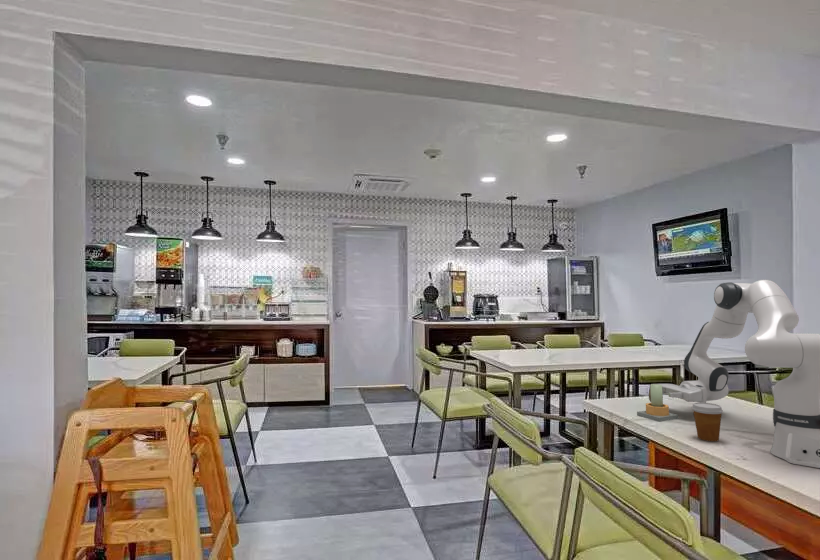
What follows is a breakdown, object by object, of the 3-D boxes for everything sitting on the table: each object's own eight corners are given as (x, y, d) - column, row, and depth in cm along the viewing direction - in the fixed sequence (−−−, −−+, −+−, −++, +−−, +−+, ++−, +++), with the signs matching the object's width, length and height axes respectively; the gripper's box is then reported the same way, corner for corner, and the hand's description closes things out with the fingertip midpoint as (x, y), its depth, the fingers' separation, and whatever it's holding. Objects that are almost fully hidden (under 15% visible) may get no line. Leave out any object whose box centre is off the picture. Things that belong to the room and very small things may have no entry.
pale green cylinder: (665, 413, 190) (663, 384, 191) (660, 415, 187) (659, 386, 188) (654, 411, 193) (652, 383, 194) (649, 413, 190) (648, 384, 191)
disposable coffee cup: (697, 441, 157) (696, 407, 158) (689, 434, 166) (687, 401, 167) (728, 444, 154) (727, 409, 155) (718, 435, 163) (717, 402, 164)
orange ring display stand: (678, 418, 187) (678, 406, 187) (659, 421, 183) (658, 409, 183) (656, 412, 197) (655, 401, 197) (637, 415, 193) (636, 403, 194)
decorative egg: (646, 404, 213) (645, 383, 213) (654, 402, 215) (653, 382, 215) (657, 406, 207) (656, 385, 208) (666, 405, 210) (665, 384, 210)
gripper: (672, 379, 204) (644, 381, 201) (708, 388, 183) (679, 390, 181) (672, 393, 203) (645, 395, 201) (709, 403, 183) (679, 405, 181)
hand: (661, 392), depth 191 cm, fingers open, 8 cm apart
